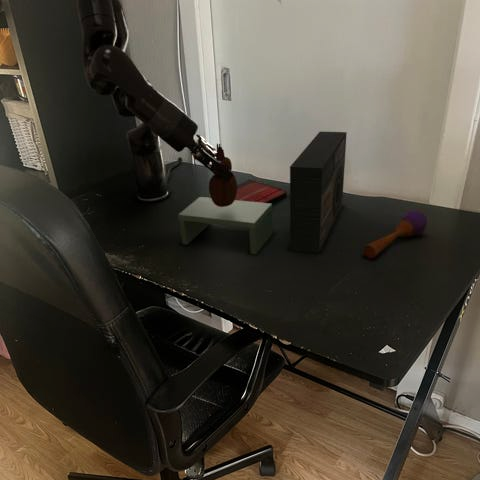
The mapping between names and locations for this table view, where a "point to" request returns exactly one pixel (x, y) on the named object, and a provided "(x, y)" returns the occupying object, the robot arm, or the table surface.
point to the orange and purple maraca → (399, 232)
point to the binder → (258, 192)
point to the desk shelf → (228, 219)
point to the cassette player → (316, 191)
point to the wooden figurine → (222, 183)
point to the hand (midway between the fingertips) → (229, 173)
